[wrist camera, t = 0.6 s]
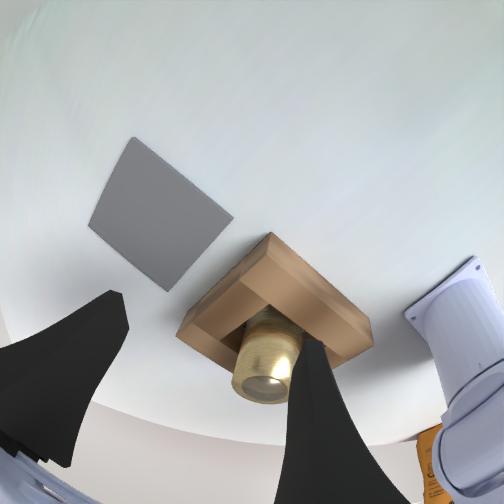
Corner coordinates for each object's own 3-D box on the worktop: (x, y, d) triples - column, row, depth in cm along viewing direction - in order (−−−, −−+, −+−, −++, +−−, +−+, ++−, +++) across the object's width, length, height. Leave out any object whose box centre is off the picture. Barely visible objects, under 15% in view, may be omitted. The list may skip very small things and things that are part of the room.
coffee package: (474, 424, 31) (487, 521, 12) (415, 446, 36) (419, 545, 17) (483, 404, 27) (503, 518, 9) (415, 430, 32) (420, 550, 13)
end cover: (313, 318, 22) (312, 392, 16) (276, 342, 24) (266, 411, 18) (274, 287, 21) (261, 362, 15) (238, 315, 23) (218, 385, 17)
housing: (368, 318, 21) (374, 345, 19) (277, 372, 27) (274, 396, 24) (271, 231, 19) (266, 254, 16) (187, 312, 24) (175, 336, 22)
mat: (233, 217, 19) (232, 219, 19) (169, 289, 23) (167, 292, 23) (134, 136, 17) (131, 137, 17) (90, 223, 21) (88, 225, 21)
